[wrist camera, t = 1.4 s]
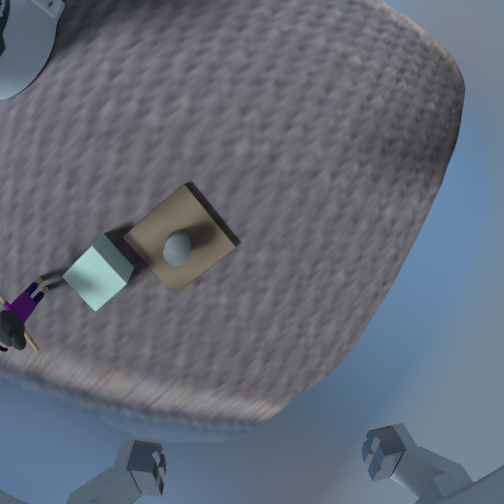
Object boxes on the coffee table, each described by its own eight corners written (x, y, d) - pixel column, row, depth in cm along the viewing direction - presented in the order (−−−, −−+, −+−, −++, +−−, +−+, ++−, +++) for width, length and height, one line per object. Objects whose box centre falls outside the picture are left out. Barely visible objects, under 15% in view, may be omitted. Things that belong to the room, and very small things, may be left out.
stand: (124, 235, 37) (115, 247, 32) (184, 183, 36) (182, 189, 31) (175, 290, 40) (173, 309, 36) (234, 244, 40) (240, 258, 35)
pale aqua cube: (75, 261, 36) (62, 276, 32) (103, 233, 36) (91, 245, 31) (105, 293, 39) (95, 311, 34) (134, 267, 38) (127, 283, 34)
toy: (17, 258, 35) (-40, 307, 21) (41, 241, 35) (-18, 289, 21) (54, 317, 38) (14, 382, 25) (79, 304, 39) (41, 372, 25)
